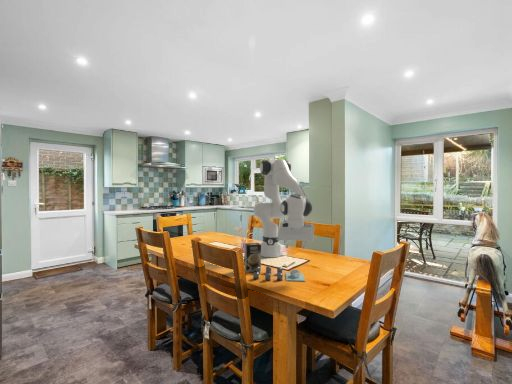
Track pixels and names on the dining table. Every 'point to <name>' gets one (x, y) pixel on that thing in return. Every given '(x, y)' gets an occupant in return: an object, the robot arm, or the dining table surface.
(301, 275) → the board
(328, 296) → the dining table surface
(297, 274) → the grey hexagonal block
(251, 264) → the coffee box
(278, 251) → the robot arm
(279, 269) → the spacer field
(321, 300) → the dining table surface
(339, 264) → the dining table surface
